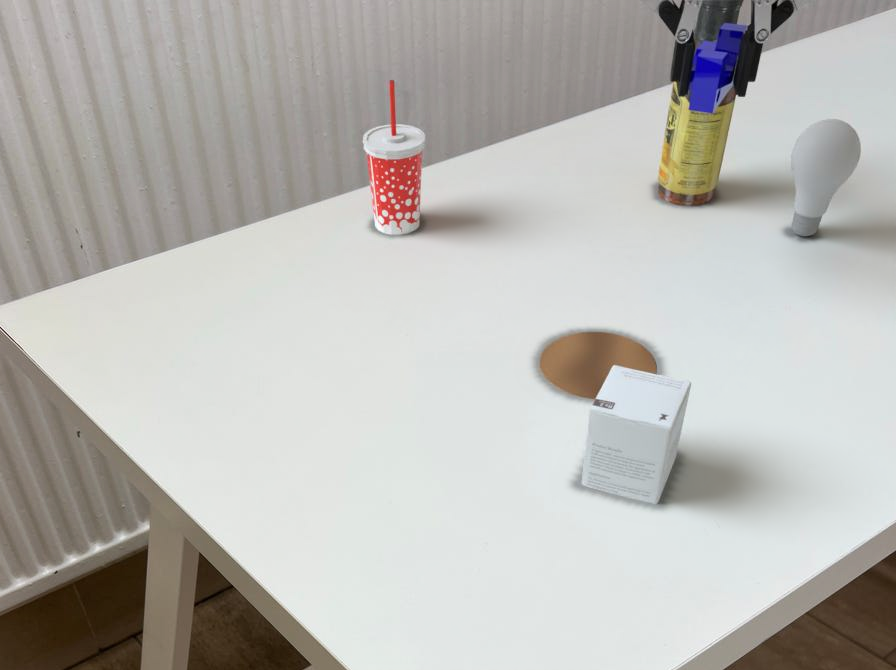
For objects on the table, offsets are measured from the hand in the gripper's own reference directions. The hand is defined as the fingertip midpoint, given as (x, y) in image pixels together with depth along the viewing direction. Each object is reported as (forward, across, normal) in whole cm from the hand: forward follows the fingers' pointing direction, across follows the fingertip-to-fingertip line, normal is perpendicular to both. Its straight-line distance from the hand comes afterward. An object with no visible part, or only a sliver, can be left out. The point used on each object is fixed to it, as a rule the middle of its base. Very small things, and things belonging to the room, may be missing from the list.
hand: (710, 88), depth 81 cm
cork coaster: (+16, +8, +16) cm, 25 cm away
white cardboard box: (+17, +6, +30) cm, 35 cm away
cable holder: (+1, 0, 0) cm, 1 cm away
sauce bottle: (+17, -2, -16) cm, 23 cm away
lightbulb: (+17, -13, -8) cm, 22 cm away
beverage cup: (+16, +28, -7) cm, 33 cm away
